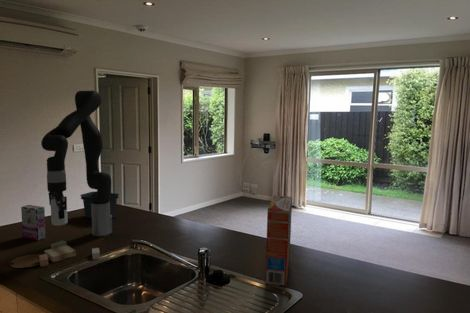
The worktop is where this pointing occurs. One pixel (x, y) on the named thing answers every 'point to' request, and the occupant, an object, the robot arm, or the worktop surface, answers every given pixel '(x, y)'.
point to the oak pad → (60, 253)
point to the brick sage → (58, 244)
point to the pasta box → (278, 240)
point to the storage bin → (87, 203)
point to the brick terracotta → (43, 260)
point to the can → (57, 214)
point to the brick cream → (95, 253)
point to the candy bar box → (33, 222)
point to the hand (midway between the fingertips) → (58, 216)
